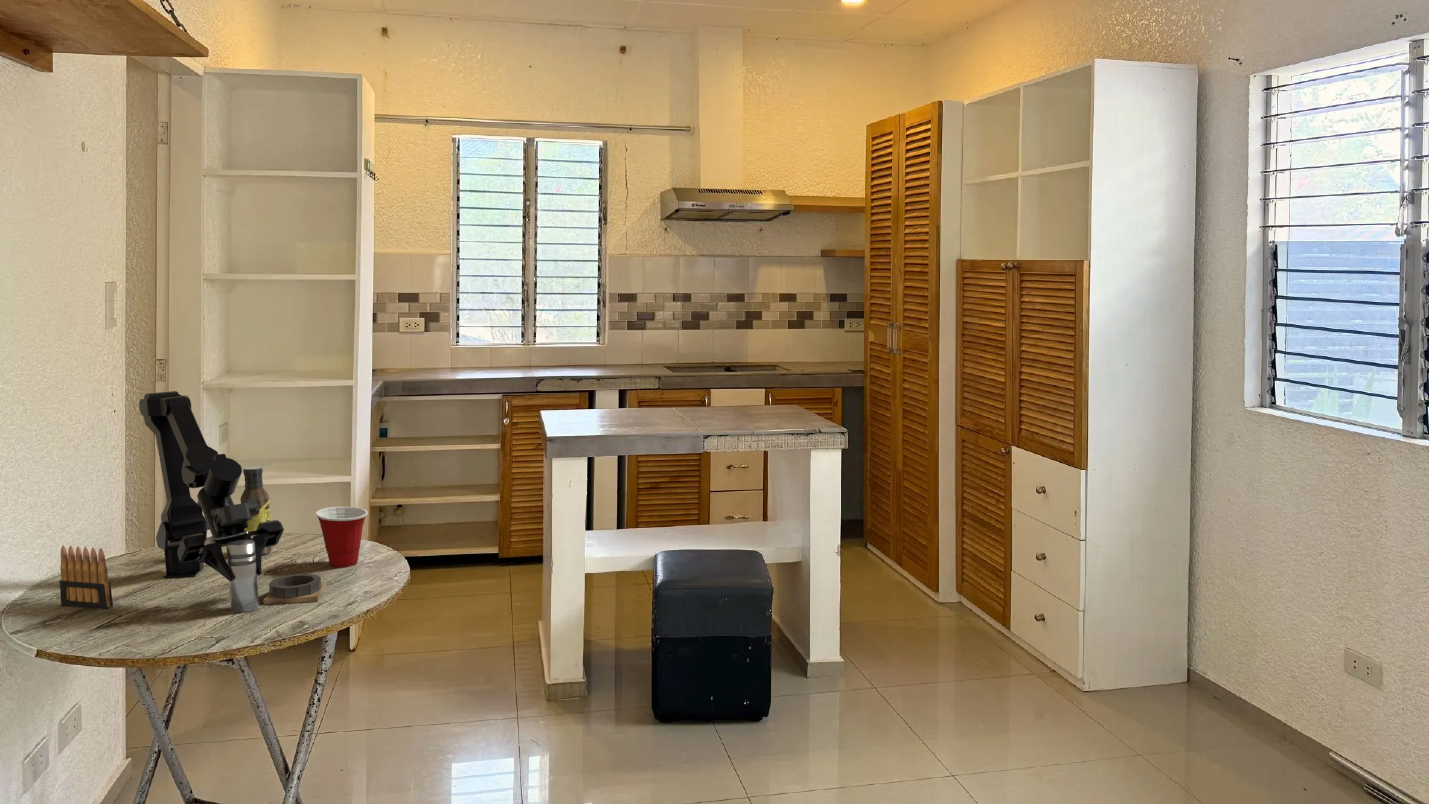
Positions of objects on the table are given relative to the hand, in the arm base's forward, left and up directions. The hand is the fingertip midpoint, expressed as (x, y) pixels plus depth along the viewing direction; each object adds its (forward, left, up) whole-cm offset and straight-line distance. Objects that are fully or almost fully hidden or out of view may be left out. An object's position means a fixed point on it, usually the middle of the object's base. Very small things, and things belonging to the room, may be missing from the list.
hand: (245, 577), depth 211 cm
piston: (-1, +1, -7) cm, 7 cm away
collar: (+7, +8, -7) cm, 13 cm away
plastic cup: (+13, +30, -7) cm, 33 cm away
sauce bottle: (-8, +43, -7) cm, 44 cm away
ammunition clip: (-32, +9, -7) cm, 34 cm away
